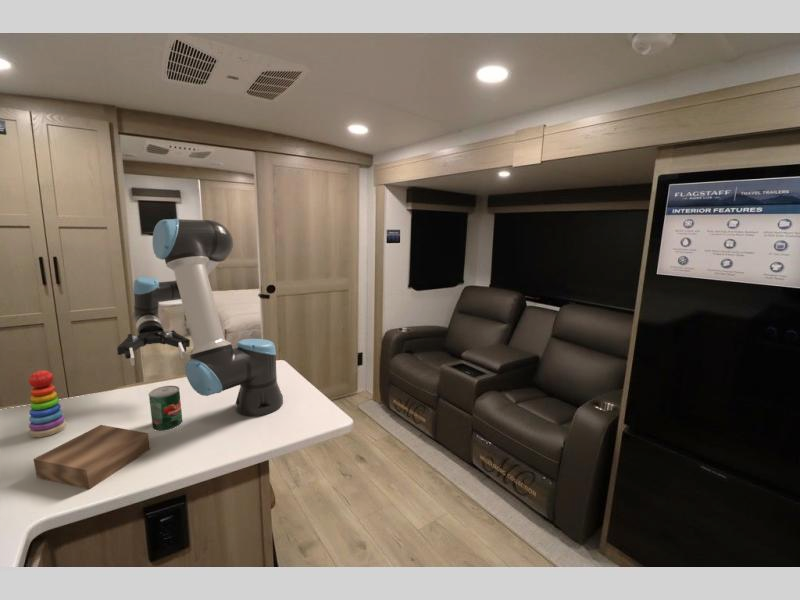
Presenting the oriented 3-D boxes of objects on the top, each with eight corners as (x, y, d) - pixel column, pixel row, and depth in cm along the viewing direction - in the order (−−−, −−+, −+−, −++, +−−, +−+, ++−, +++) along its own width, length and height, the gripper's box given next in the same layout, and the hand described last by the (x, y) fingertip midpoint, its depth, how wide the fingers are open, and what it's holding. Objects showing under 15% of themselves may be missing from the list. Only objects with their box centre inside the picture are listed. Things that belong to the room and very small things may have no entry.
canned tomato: (178, 429, 110) (175, 395, 108) (148, 432, 108) (144, 398, 106) (185, 416, 118) (182, 384, 116) (157, 419, 116) (153, 386, 113)
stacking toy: (32, 442, 102) (20, 379, 99) (27, 432, 107) (15, 371, 103) (69, 430, 109) (59, 370, 105) (63, 421, 113) (53, 364, 110)
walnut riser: (150, 449, 100) (148, 432, 99) (89, 489, 85) (86, 470, 84) (103, 440, 104) (100, 424, 103) (36, 477, 88) (33, 459, 87)
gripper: (189, 334, 141) (202, 362, 126) (106, 342, 125) (110, 375, 110) (189, 317, 139) (202, 342, 124) (105, 323, 123) (108, 353, 108)
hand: (159, 358), depth 117 cm, fingers open, 13 cm apart
